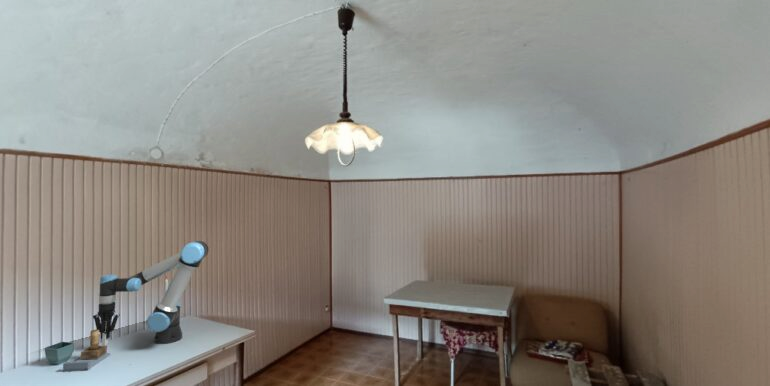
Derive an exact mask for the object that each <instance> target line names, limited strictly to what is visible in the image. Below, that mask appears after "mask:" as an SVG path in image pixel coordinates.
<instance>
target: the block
mask: <svg viewBox="0 0 770 386" xmlns="http://www.w3.org/2000/svg"><path fill="white" fill-rule="evenodd" d="M107 349H108V346H107V344H106V345H99V347H98V349H97V350H90V346H88V347H86V349H83V350H82V351H80V359H81V360H84V359H98V358H100V357H101V356H103V355H104V354H106V353H108V352H107Z"/></svg>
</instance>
